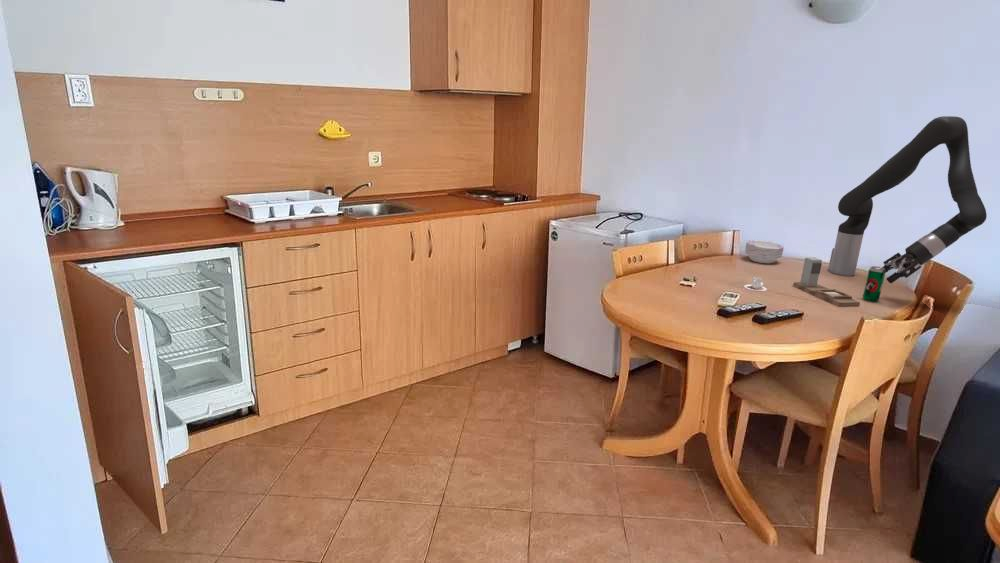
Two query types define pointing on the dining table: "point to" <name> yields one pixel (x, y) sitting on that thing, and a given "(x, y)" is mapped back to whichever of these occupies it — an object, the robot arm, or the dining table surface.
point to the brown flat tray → (829, 295)
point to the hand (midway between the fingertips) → (882, 278)
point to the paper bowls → (763, 251)
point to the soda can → (874, 284)
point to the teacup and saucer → (756, 284)
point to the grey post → (811, 271)
